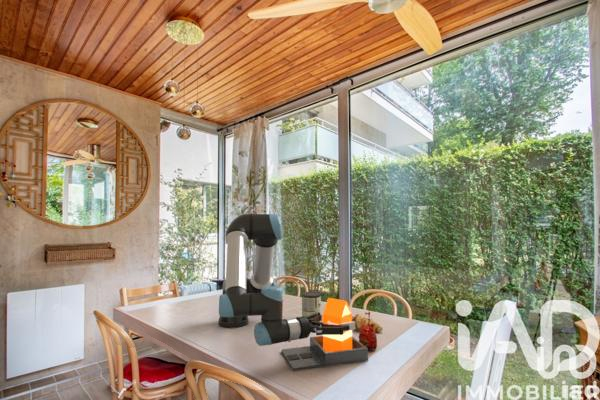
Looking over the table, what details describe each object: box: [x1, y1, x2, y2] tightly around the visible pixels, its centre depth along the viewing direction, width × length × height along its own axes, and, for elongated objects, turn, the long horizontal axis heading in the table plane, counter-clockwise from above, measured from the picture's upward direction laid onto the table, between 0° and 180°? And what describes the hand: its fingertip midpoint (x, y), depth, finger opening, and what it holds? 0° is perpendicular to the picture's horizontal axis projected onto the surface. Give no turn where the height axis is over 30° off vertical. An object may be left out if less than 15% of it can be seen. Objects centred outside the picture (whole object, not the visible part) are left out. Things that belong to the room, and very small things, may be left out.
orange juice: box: [322, 297, 353, 352], centre depth 120 cm, size 8×9×20 cm
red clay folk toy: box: [358, 310, 378, 352], centre depth 126 cm, size 8×7×15 cm
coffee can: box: [301, 291, 322, 322], centre depth 163 cm, size 10×10×14 cm
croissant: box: [352, 313, 383, 333], centre depth 150 cm, size 21×10×8 cm
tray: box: [281, 335, 369, 372], centre depth 118 cm, size 29×17×4 cm, turn 107°
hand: (344, 320), depth 122 cm, fingers open, 13 cm apart
